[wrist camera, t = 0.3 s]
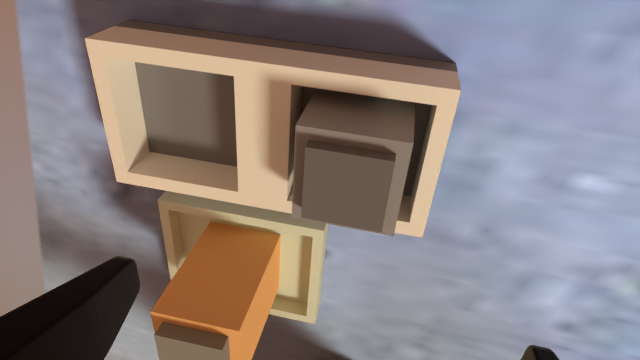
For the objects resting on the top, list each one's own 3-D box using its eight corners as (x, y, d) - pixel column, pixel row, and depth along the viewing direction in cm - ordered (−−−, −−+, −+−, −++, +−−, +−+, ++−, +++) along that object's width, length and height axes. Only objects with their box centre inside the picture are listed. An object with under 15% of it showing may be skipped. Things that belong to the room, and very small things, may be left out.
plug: (279, 286, 29) (236, 400, 22) (215, 273, 30) (154, 380, 23) (280, 234, 27) (232, 345, 20) (210, 221, 27) (141, 324, 21)
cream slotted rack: (422, 197, 24) (421, 277, 19) (150, 151, 26) (83, 211, 21) (455, 63, 20) (466, 119, 15) (128, 20, 22) (39, 56, 17)
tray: (319, 305, 30) (314, 324, 29) (183, 277, 31) (173, 293, 30) (329, 214, 26) (324, 231, 24) (170, 185, 27) (157, 199, 26)
